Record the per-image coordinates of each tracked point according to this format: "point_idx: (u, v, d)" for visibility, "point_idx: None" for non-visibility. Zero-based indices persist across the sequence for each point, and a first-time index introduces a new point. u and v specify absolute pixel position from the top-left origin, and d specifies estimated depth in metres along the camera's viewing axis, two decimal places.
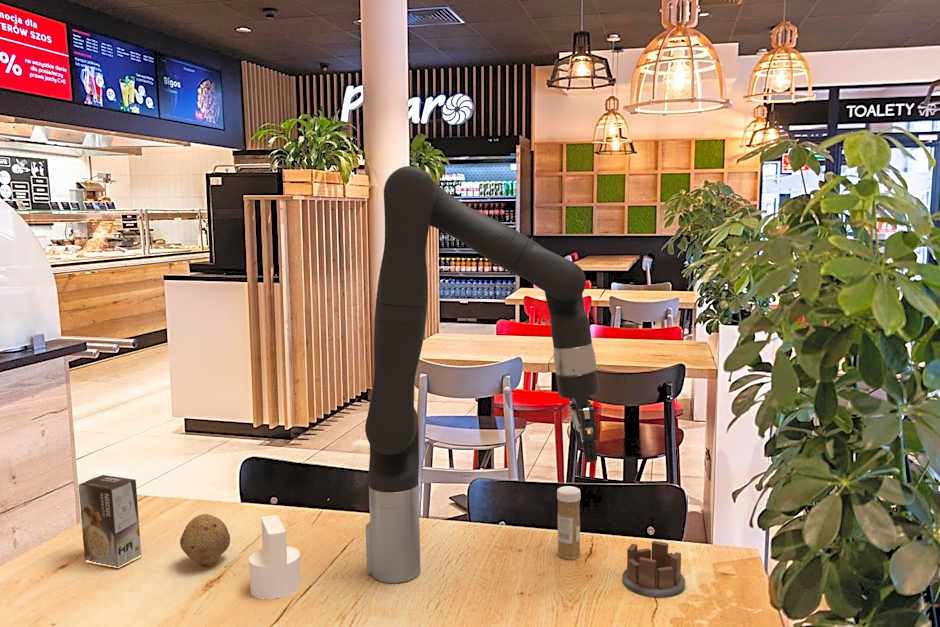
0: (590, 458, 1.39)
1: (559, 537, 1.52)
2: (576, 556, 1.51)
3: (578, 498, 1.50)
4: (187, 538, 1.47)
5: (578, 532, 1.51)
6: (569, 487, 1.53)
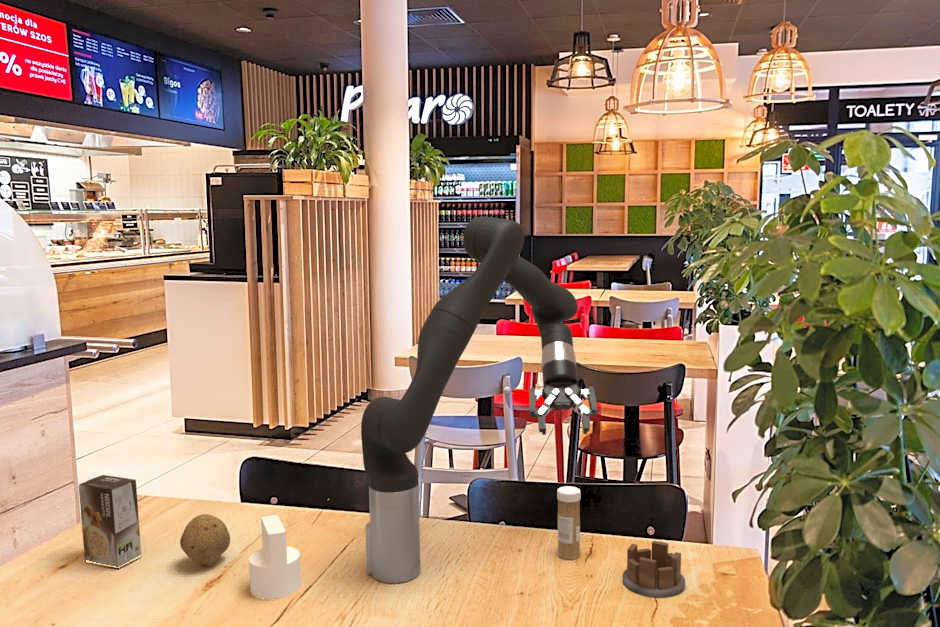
0: (589, 428, 1.61)
1: (559, 537, 1.52)
2: (576, 556, 1.51)
3: (578, 498, 1.50)
4: (187, 538, 1.47)
5: (578, 532, 1.51)
6: (569, 487, 1.53)
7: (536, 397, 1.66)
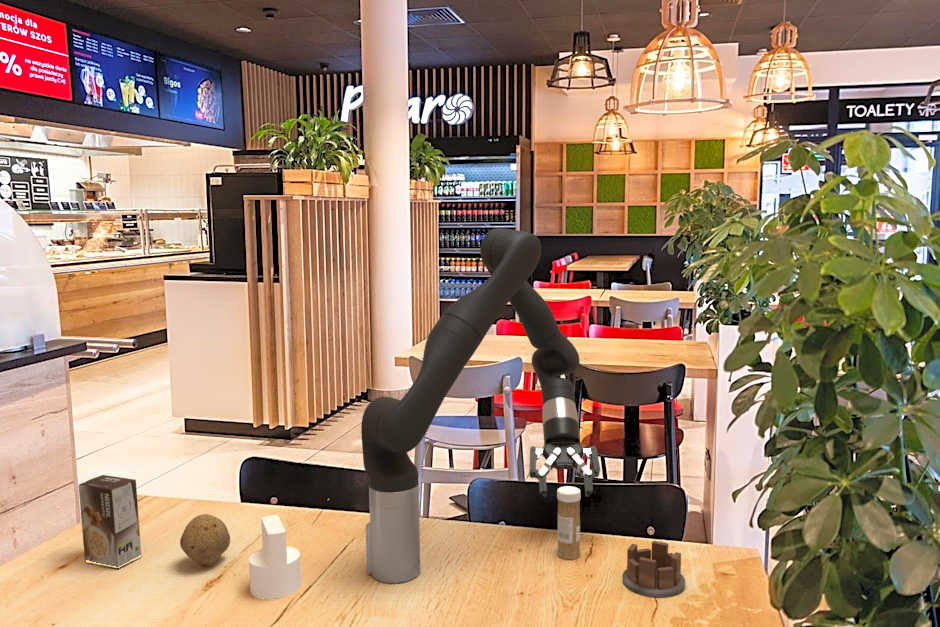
0: None
1: (559, 537, 1.52)
2: (576, 556, 1.51)
3: (578, 498, 1.50)
4: (187, 538, 1.47)
5: (578, 532, 1.51)
6: (569, 487, 1.53)
7: (537, 456, 1.60)
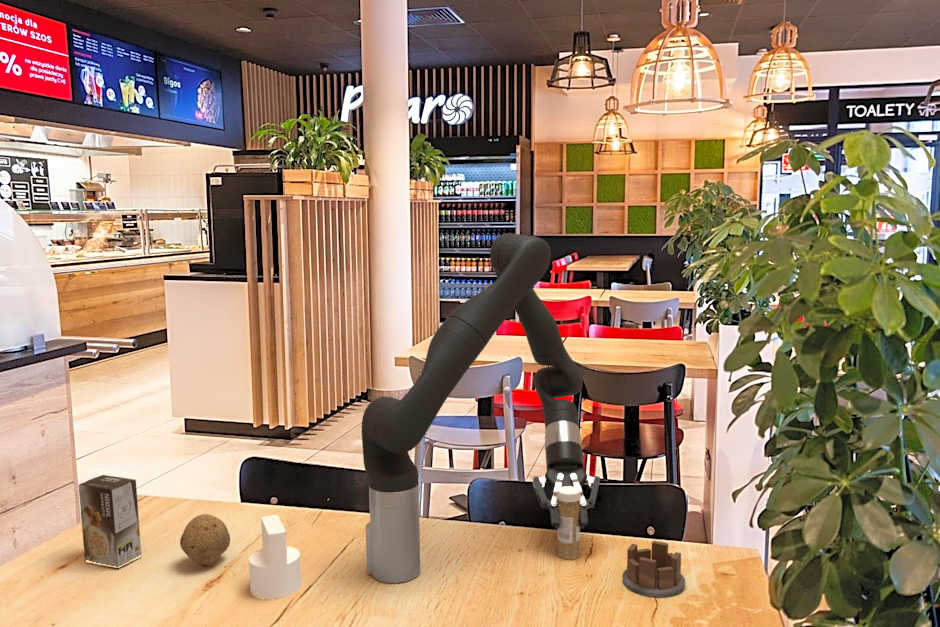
0: None
1: (559, 537, 1.52)
2: (576, 556, 1.51)
3: (578, 498, 1.50)
4: (187, 538, 1.47)
5: (578, 532, 1.51)
6: (569, 487, 1.53)
7: (542, 485, 1.55)
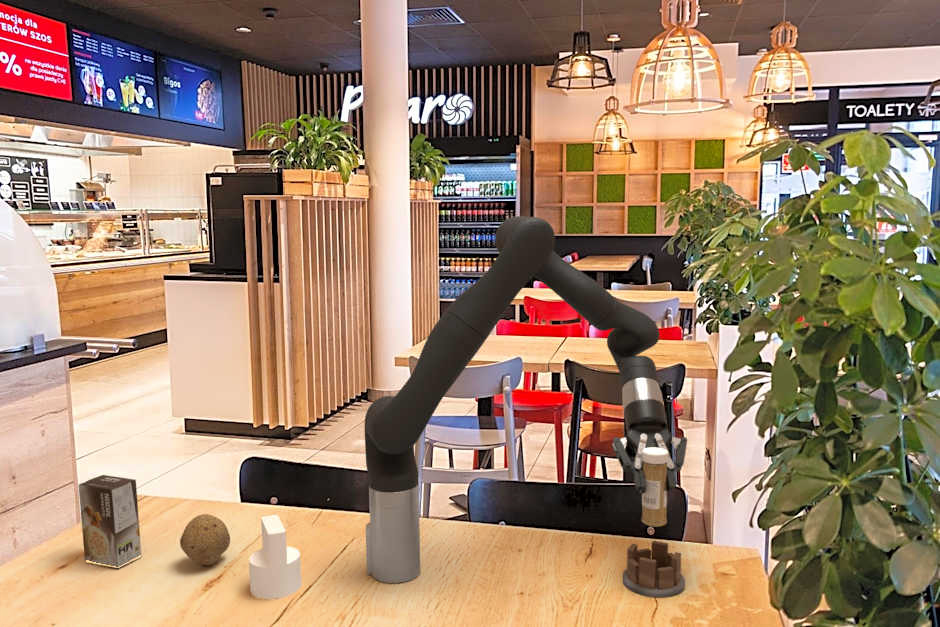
0: (675, 486, 1.38)
1: (644, 502, 1.39)
2: (663, 523, 1.38)
3: (666, 459, 1.37)
4: (187, 538, 1.47)
5: (665, 497, 1.38)
6: (655, 448, 1.39)
7: (623, 447, 1.42)
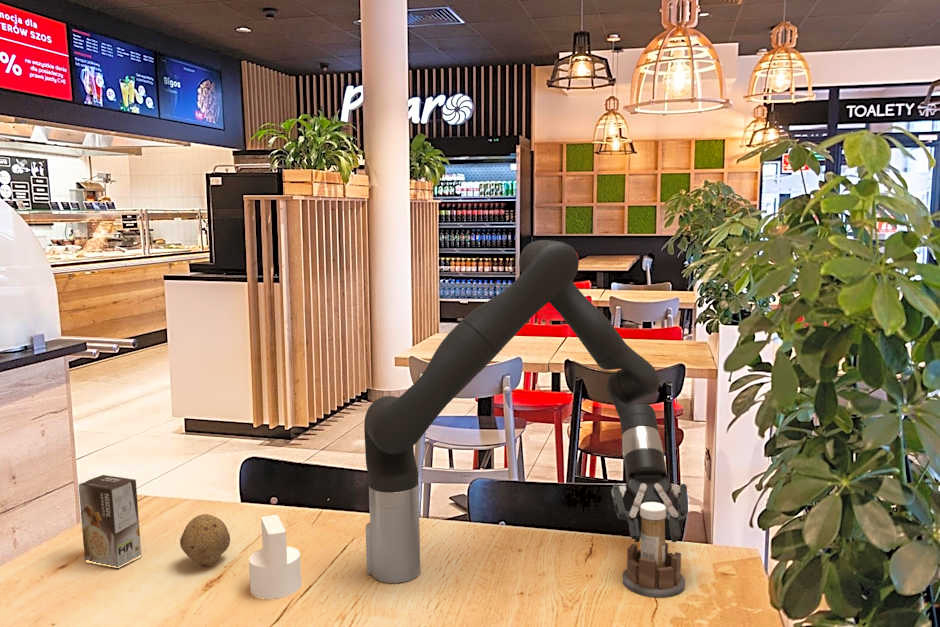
0: (679, 535, 1.39)
1: None
2: None
3: (664, 515, 1.38)
4: (187, 538, 1.47)
5: (664, 552, 1.39)
6: (653, 503, 1.41)
7: (621, 495, 1.43)
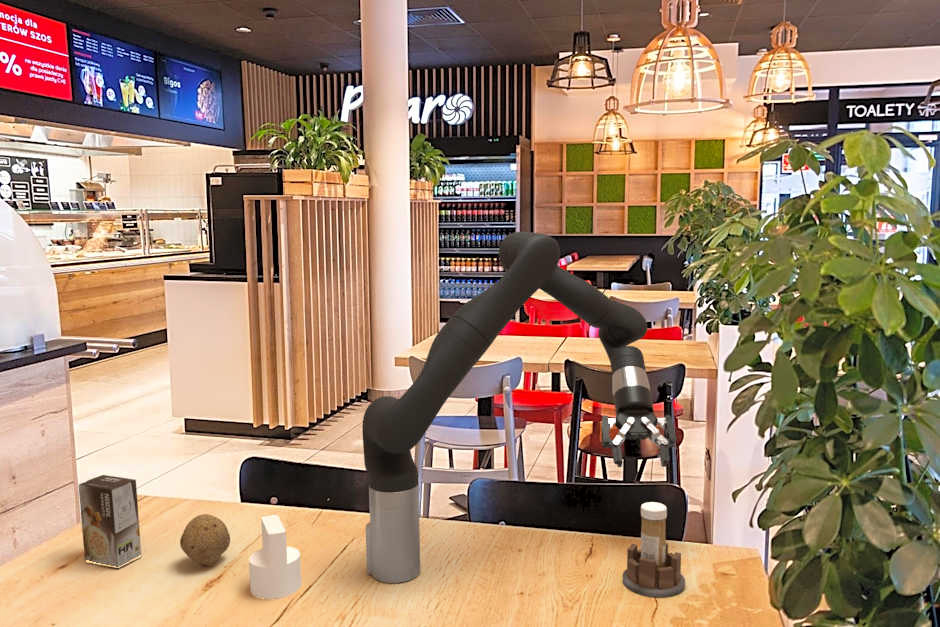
0: None
1: None
2: None
3: (665, 515, 1.38)
4: (187, 538, 1.47)
5: (664, 552, 1.39)
6: (653, 503, 1.41)
7: (609, 426, 1.55)
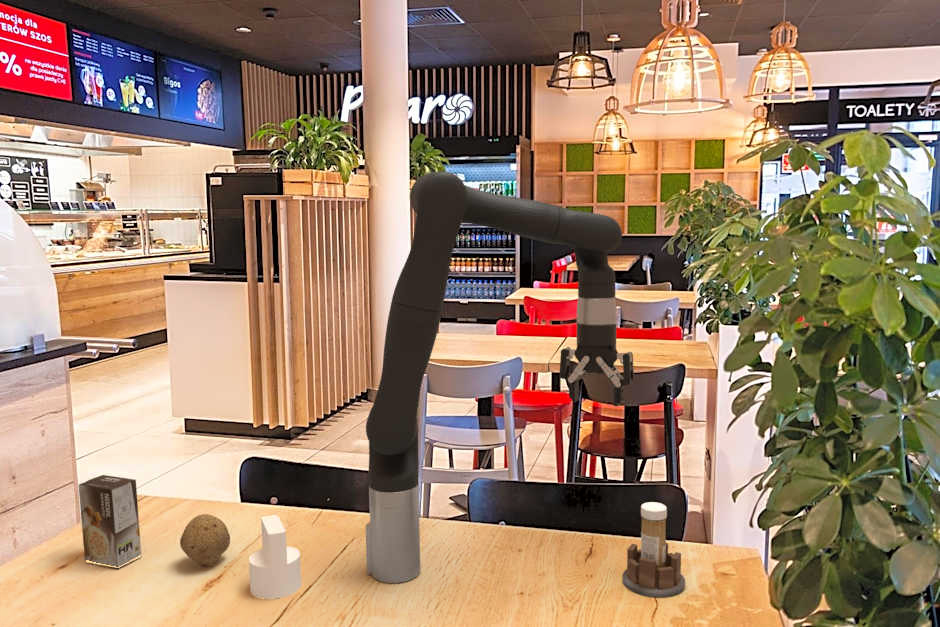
0: (621, 401, 1.48)
1: None
2: None
3: (665, 515, 1.38)
4: (187, 538, 1.47)
5: (664, 552, 1.39)
6: (653, 503, 1.41)
7: (569, 358, 1.52)
